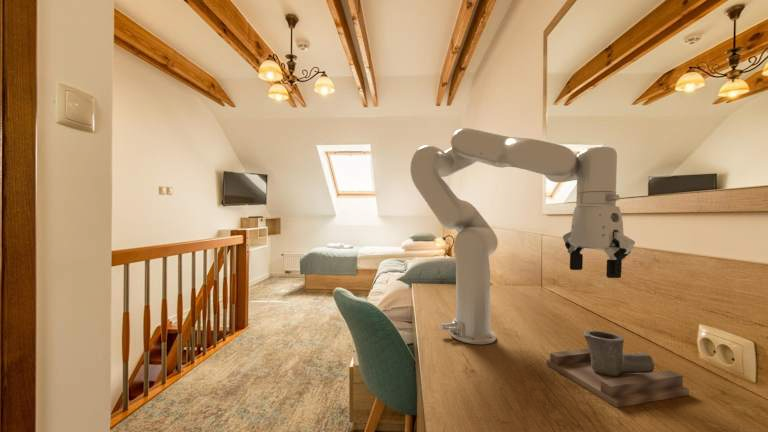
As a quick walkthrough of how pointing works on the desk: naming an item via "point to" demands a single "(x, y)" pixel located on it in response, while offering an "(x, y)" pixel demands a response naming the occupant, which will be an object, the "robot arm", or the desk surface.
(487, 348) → the desk surface
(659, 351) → the desk surface
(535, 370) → the desk surface
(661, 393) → the cradle
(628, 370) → the pipe
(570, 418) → the desk surface
